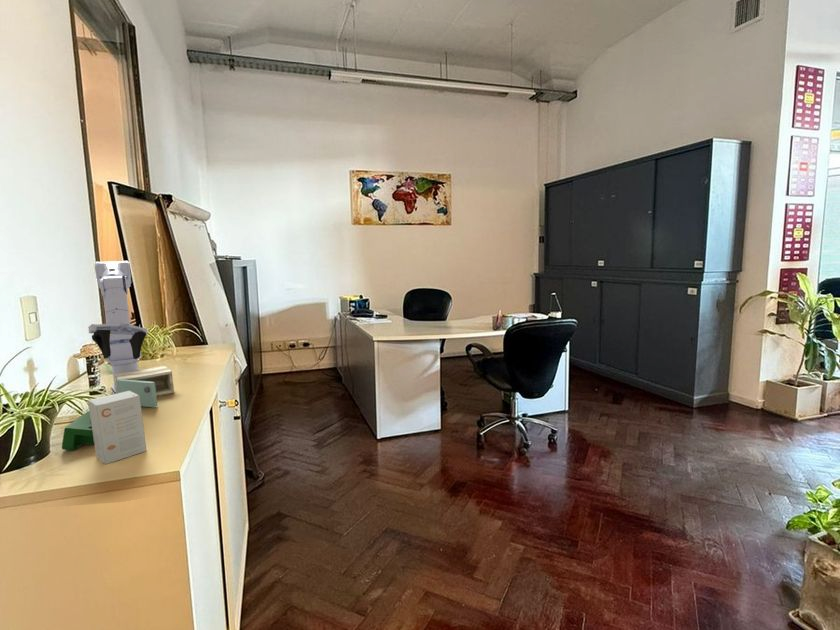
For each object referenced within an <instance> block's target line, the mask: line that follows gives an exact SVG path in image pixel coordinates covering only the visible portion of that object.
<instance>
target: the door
mask: <svg viewBox="0 0 840 630" xmlns="http://www.w3.org/2000/svg"><path fill="white" fill-rule="evenodd" d="M116 385H117V392H118V393H121V392H126V391H131V392H133V393H135V394H137V395H139V397H140V404H141V407H144V408H145V407H148V408H156V407H158V400H157V397H158V396H156V389H155V382H150V381H137V380H125V379H118V380H116Z"/></svg>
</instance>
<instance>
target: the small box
mask: <svg viewBox="0 0 840 630" xmlns="http://www.w3.org/2000/svg"><path fill="white" fill-rule="evenodd" d="M87 402H88V403H87V404H88V411H90V418H91V424H92V431H93V438H94V444H95V445H94V449H95V456H96V458H97V459H99V461H101V462H102V463H103V464H105V465H108V464H110V463H113V462H116V461H119V460H120V461H121V460H122V459H123V460H124V459H125V458H129V457H131V456H135V455H137V454H138V455H139V454H141V453H145V452H146V451H147V444H146V443H147V442H146V435H145V426H144V422H143V421H144V420H143V415H142V414H143V413H142V406H141V404H140V397H139V395H137V394H135V393H133V392H131V391H126V392H121V393H113V394H108V395H104V396H101V397H97V398H92V399H88V400H87Z"/></svg>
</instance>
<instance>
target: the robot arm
mask: <svg viewBox="0 0 840 630" xmlns="http://www.w3.org/2000/svg"><path fill="white" fill-rule="evenodd" d="M94 270H95V271H94V272H95V279H96V281H97V285H98V287H99V289H100V293H101V296H102V301H103V306H104V313H105V314H104V316H105V323H98V324H96V323H92V324H90V325H89V326H88V327H87V328H88V334H92V335H91V339H92V341H93V342H94V343H95V344H96V345H97V347H98V349H99V350H100V351H101V354H102V356H103V359H105V361H106V363H108V364H110V365H111V369H112V370H111V371H112V377H113V378H112V379H113V385H111V389H112V390H113V392H114V394H117V392H116V384H115V377H114V374H119V373H125V372H131V371H137V370H140V369H139V362H138V361H139V360H140V359H142V347H143V343H144V341H145V338H146V336H147V335H148V328H145V327H140V326H137V325H134V324H131V318H130V311H129V303H128V293H129V291H128V290H129V288H130V287H132V285H131V284H132V279H131V278H132V274H131V273H132V272H131V265H130V262H129V261H128V260H122V261H96V262H95V263H94Z"/></svg>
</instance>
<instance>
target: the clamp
mask: <svg viewBox="0 0 840 630" xmlns="http://www.w3.org/2000/svg"><path fill="white" fill-rule="evenodd" d="M83 444H85V445H94V446H95V444H94V438H93V431H92V424H91V418H90V411H89V410H88V411H86V412H85V413H83V414H81V416H79V417H78V418H77V419H75V420H73V421H72V422H71V423H69V424H68V425H67V426H65V427H64V431H63V436H62V444H61V448H62V449H61V450H66V451H75V450H76V449H78V448H79V447H80V446H81V445H83Z"/></svg>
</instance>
